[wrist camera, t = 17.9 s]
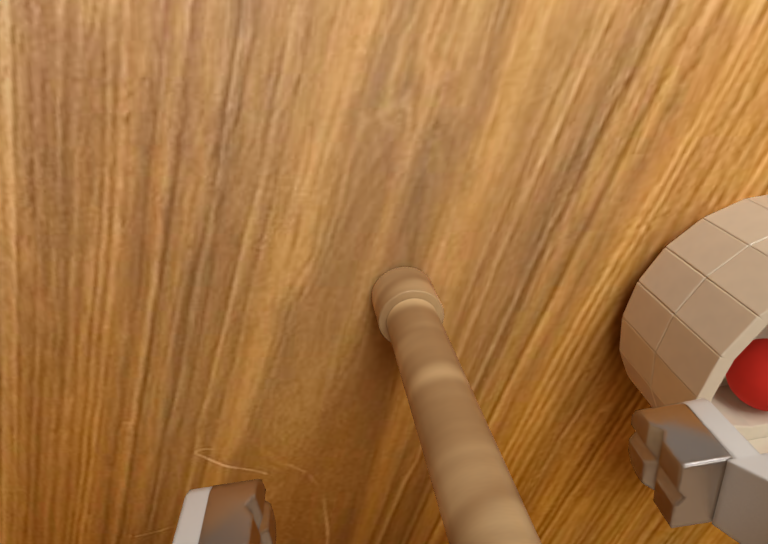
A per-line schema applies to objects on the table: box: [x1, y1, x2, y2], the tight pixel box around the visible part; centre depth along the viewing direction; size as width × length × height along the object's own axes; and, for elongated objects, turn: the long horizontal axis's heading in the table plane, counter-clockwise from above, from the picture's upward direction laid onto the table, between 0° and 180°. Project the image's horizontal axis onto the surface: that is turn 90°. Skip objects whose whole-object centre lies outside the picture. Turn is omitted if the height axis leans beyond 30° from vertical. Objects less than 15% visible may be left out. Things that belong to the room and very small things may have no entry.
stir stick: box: [372, 267, 542, 544], centre depth 14 cm, size 3×3×20 cm
